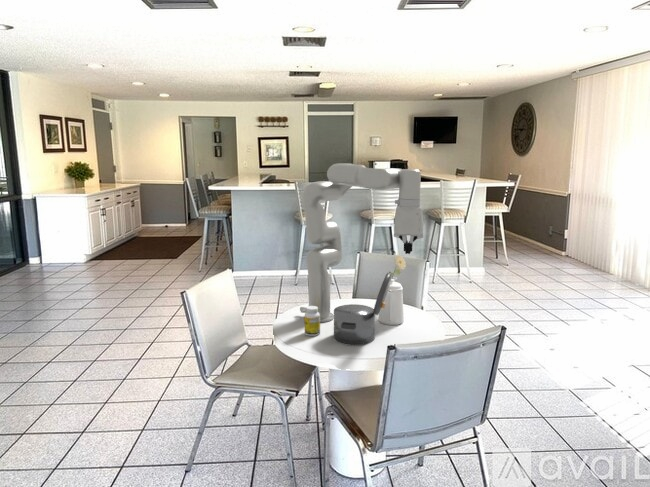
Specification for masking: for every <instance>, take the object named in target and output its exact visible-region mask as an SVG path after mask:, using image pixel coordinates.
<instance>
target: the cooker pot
mask: <svg viewBox="0 0 650 487" xmlns="http://www.w3.org/2000/svg"><path fill="white" fill-rule="evenodd" d="M373 311H374V307H371V306H369V305H364V304H357V303H355V304H352V303H351V304H342V305H339V306H336V307H335V308H334V310H333V315H334V318H333V339H334V341H336V342H337V343H339V344H343V345H347V346H363V345H367V344H370V343H372V342H374V340H375V336H376V335H375V333H376V332H375V331H376V330H375V325H376V324H375V322H376V314H373Z"/></svg>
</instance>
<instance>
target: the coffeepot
mask: <svg viewBox="0 0 650 487" xmlns="http://www.w3.org/2000/svg"><path fill="white" fill-rule="evenodd" d="M403 289H404V288H403V286H402V284H401V283H400V282H397V281H395V282H394V279H391V282H390V285H389V289H388V292H387V295H386V297H385V300H384V303H386V304H385V307H384V308H381V310H380V312H379V314H378V315H377V317H378V318H377V319H378V321H379V323H380V324H383V325H385V326H397V325H401V324H402V323H403V322H404V320H405V319H404V318H405V317H404V314H405V313H404V298H403V296H404V295H403Z"/></svg>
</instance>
